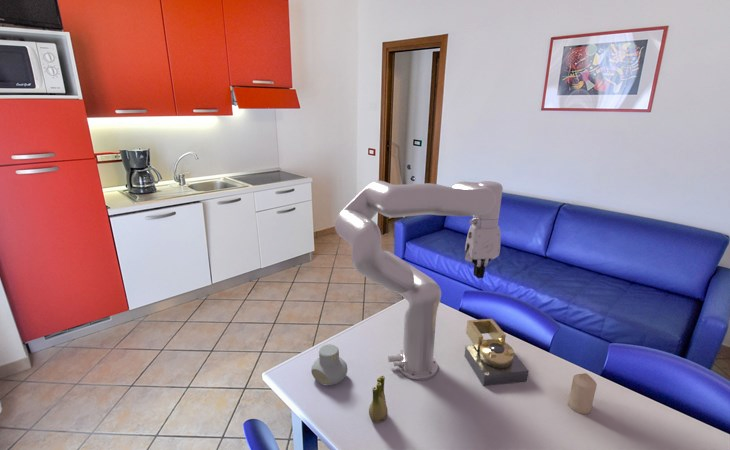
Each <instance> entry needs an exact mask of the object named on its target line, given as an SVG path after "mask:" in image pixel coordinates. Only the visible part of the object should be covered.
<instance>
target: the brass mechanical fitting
mask: <svg viewBox="0 0 730 450" xmlns="http://www.w3.org/2000/svg"><path fill="white" fill-rule="evenodd" d="M465 331H466V332H465V333H466V335H467V336H468V338H469V340H470V341H471V343H472V345H474V346H475V347H476V349H477V350H480V351H479V356H480V358H481V360H482V361H483V362H485V363H486V364H488V365H490V366H493V367H498V368H505V367H508V366H510V365H511V364H512V362H513V356H514V355H515V354H516V352H515V351H514V349H513V347H512V346H511V345H510V344H508V343H507V342H506V338H507V337H506V336H507V334H506V333H505V332H504V331H503V329H501V327H500V326H499V324H497V322H496V321H495V320H494V319H493V318H486V319H485V318H482V319H472V320H469V319H467V321H466V329H465ZM483 334H488V335H489V336H490V337H491V339H490V338H489V339H488V338H487V339H484V335H483ZM505 342H506V343H505Z"/></svg>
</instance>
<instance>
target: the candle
mask: <svg viewBox="0 0 730 450" xmlns="http://www.w3.org/2000/svg"><path fill="white" fill-rule="evenodd" d="M597 384H598V383H597V382H596V381H595V379H594V378H593V377H592V376H590V375H589V373H586V372H583V373H577V374H574V375H573V377H572V382H571V387H570V390H569V395H568V400H567V401H568V402H567V404H568V407H569V408H571V410H573V411H574V412H576V413H578V414H582V415H586V414H589V413H590V412H591V411H592V408H593V407H592V406H593V402H594V398H595V394H596V389H597Z"/></svg>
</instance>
